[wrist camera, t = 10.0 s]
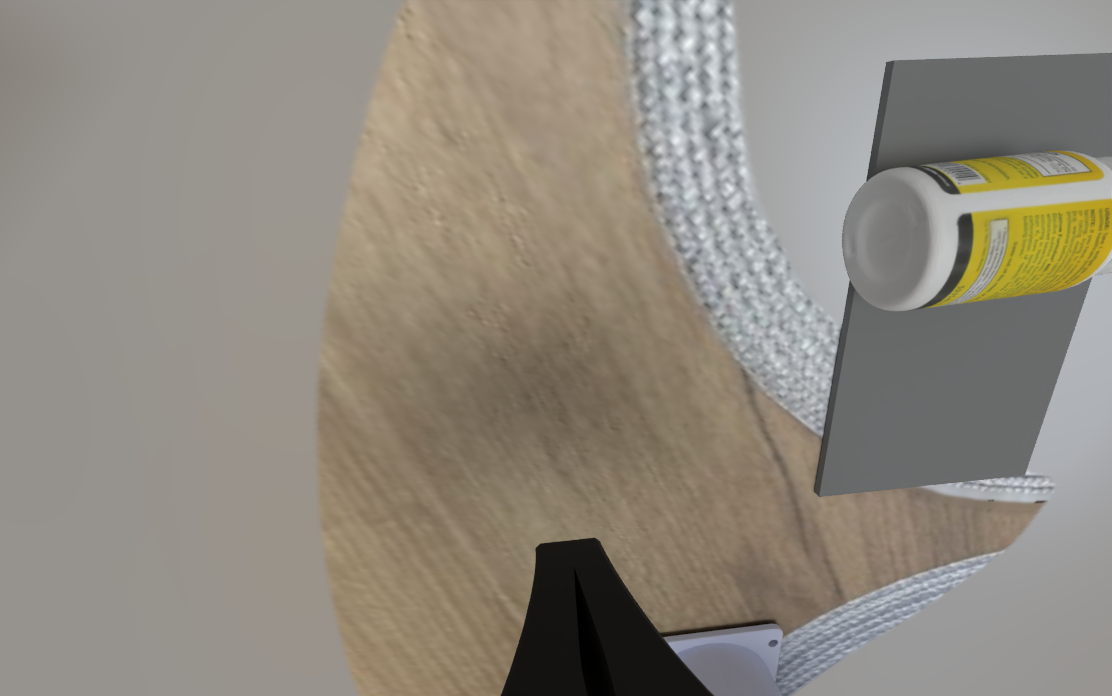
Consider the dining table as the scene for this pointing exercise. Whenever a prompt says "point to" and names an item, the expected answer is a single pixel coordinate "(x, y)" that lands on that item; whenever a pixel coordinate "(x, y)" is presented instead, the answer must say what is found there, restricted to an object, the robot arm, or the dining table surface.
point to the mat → (969, 328)
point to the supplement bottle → (979, 229)
